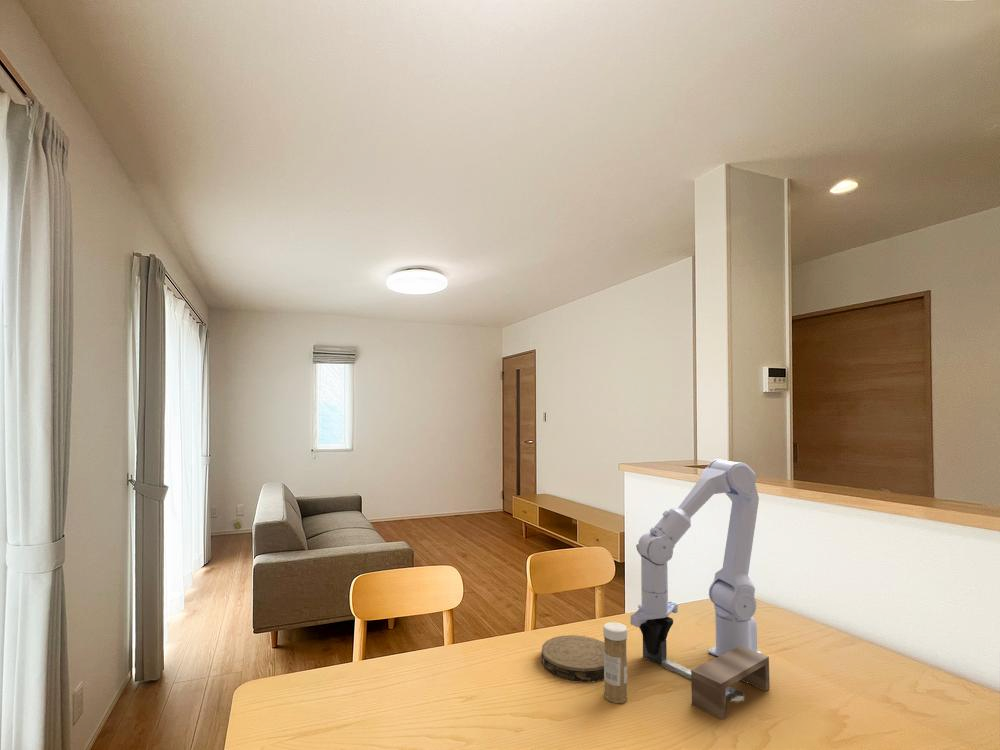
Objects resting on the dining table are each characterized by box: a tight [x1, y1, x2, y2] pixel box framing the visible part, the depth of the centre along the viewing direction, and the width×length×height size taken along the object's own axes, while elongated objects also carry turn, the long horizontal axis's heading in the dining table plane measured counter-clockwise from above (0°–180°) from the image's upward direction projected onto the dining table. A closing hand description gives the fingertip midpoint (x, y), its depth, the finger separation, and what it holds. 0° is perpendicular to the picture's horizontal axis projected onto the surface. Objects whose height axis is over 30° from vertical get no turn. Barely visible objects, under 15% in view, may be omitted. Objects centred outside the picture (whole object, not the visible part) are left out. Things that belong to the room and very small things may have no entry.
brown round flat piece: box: [541, 634, 605, 683], centre depth 113 cm, size 16×16×3 cm
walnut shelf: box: [690, 646, 771, 720], centre depth 101 cm, size 18×6×6 cm, turn 127°
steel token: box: [726, 686, 745, 703], centre depth 100 cm, size 4×4×1 cm
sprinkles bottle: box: [602, 621, 629, 704], centre depth 100 cm, size 5×5×13 cm
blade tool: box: [642, 636, 692, 680], centre depth 110 cm, size 18×5×5 cm, turn 37°
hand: (655, 651), depth 115 cm, fingers closed on blade tool, 2 cm apart
